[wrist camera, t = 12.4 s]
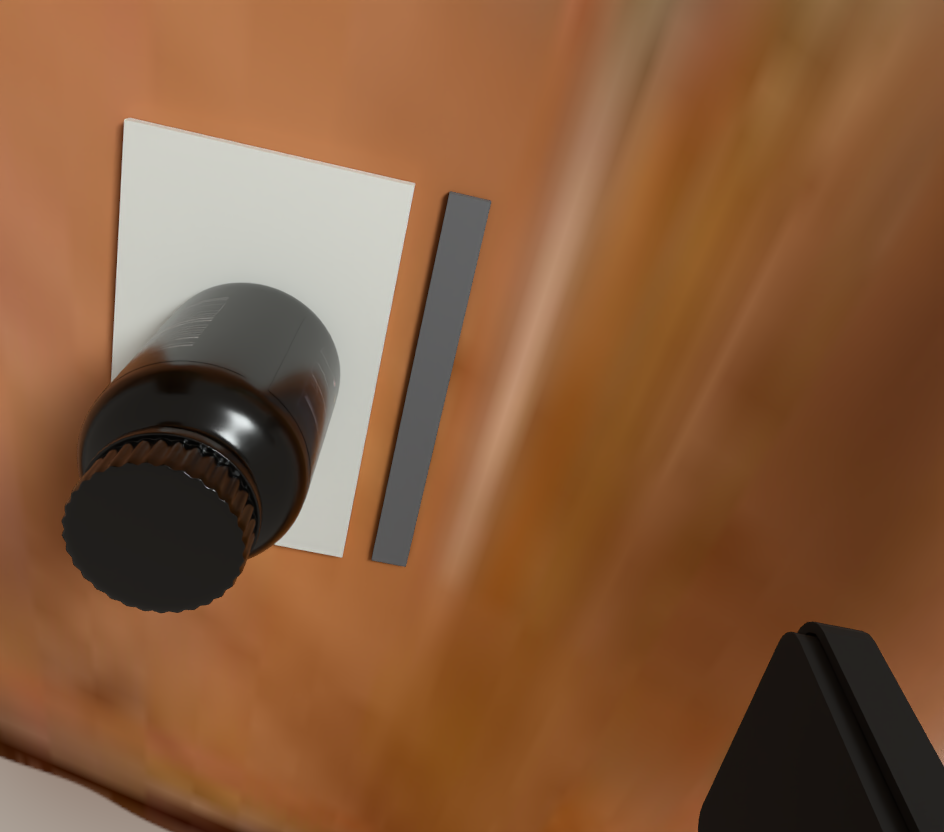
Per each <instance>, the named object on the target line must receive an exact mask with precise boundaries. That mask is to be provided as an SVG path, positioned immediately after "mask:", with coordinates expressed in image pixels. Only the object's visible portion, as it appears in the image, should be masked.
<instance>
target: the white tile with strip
mask: <svg viewBox="0 0 944 832" xmlns="http://www.w3.org/2000/svg"><path fill="white" fill-rule="evenodd" d="M414 187H415V183H412V182H407V181H403V180H399V179H394V178H390V177H386V176H381V175H377V174H373V173H368V172H364V171H359V170H355V169H351V168H346V167H342V166H338V165H333V164H329V163H325V162H320V161H316V160H312V159H307V158H303V157H299V156H294V155H290V154H286V153H281V152H277V151H273V150H268V149H264V148H260V147H255V146H251V145H246V144H242V143H238V142H233V141H229V140H225V139H220V138H216V137H212V136H207V135H203V134H199V133H194V132H190V131H186V130H181V129H177V128H173V127H168V126H164V125H160V124H155V123H151V122H146V121H142V120H138V119H133V118H127V119H124V134H123V154H122V174H121V194H120V214H119V234H118V254H117V274H116V294H115V313H114V333H113V353H112V373H111V382H112V381H113V380H114V379H115V378H116V377H117V375H118V374H119V373H120V372H121V371H122V370H123V369H124V368H125V366H126V365H127V364H128V363H129V362H130V361H131V360H132V359H133V357H134V356H135V355H136V354H137V353H138V352H139V351H140V350H141V349H142V347H143V346H144V345H145V344H146V343H147V342H148V341H149V340H150V338H151V337H152V336H153V335H154V334H155V333H156V332H157V331H158V330H159V328H160V327H161V326H162V325H163V324H164V323H165V322H166V321H167V319H168V318H169V317H170V316H171V315H172V314H173V313H174V312H175V311H176V310H177V309H178V308H179V307H180V306H181V305H182V304H184V303H185V302H186V301H187V300H188V299H190V298H191V297H193V296H194V295H196V294H198V293H200V292H202V291H204V290H206V289H208V288H211V287H214V286H218V285H222V284H228V283H255V284H261V285H266V286H269V287H273V288H276V289H278V290H281V291H283V292H285V293H287V294H289V295H291V296H293V297H294V298H296V299H298V300H299V301H301V302H302V303H303V304H305V305H306V306H307V307H308V308H309V309H310V310H312V311H313V312H314V313H315V314H316V316H317V317H318V318H319V319H320V320H321V321H322V323H323V324H324V326H325V327H326V329H327V330H328V332H329V333H330V335H331V338H332V340H333V342H334V344H335V347H336V350H337V353H338V357H339V363H340V386H339V391H338V396H337V399H336V403H335V407H334V410H333V413H332V417H331V420H330V423H329V426H328V429H327V433H326V436H325V439H324V442H323V445H322V449H321V452H320V455H319V458H318V462H317V465H316V468H315V471H314V474H313V478H312V481H311V484H310V487H309V490H308V494H307V497H306V499H305V502H304V504H303V507H302V509H301V511H300V513H299V515H298V517H297V519H296V521H295V522H294V524H293V525H292V526H291V528H290V529H289V530H288V531H287V533H286V534H285V535H284V536H283V537H282V538H281V539H280V540H279V541H277V542H276V543H275V544H274V545H278V546H284V547H289V548H294V549H299V550H305V551H310V552H315V553H321V554H326V555H331V556H336V557H342V556H343V552H344V547H345V542H346V536H347V531H348V526H349V521H350V516H351V511H352V506H353V500H354V495H355V490H356V485H357V480H358V475H359V470H360V465H361V459H362V454H363V449H364V444H365V439H366V434H367V429H368V423H369V418H370V413H371V408H372V403H373V398H374V393H375V388H376V382H377V377H378V372H379V367H380V362H381V357H382V352H383V346H384V341H385V336H386V331H387V326H388V321H389V316H390V311H391V305H392V300H393V295H394V290H395V285H396V280H397V275H398V269H399V264H400V259H401V254H402V249H403V244H404V239H405V234H406V228H407V223H408V218H409V213H410V208H411V203H412V198H413V192H414ZM490 205H491V201H490V200H486V199H481V198H477V197H473V196H468V195H464V194H459V193H455V192H451V191H450V193H449V197H448V202H447V207H446V212H445V216H444V221H443V226H442V230H441V235H440V240H439V245H438V249H437V254H436V259H435V263H434V268H433V273H432V277H431V282H430V287H429V292H428V296H427V301H426V306H425V310H424V315H423V320H422V324H421V329H420V334H419V339H418V343H417V348H416V353H415V357H414V362H413V367H412V372H411V376H410V381H409V386H408V390H407V395H406V400H405V404H404V409H403V414H402V419H401V423H400V428H399V433H398V437H397V442H396V447H395V452H394V456H393V461H392V466H391V470H390V475H389V480H388V484H387V489H386V494H385V499H384V503H383V508H382V513H381V517H380V522H379V527H378V531H377V536H376V541H375V546H374V550H373V555H372V560H373V561H378V562H383V563H388V564H394V565H399V566H404V567H406V564H407V559H408V555H409V551H410V546H411V542H412V538H413V534H414V529H415V525H416V521H417V517H418V512H419V508H420V504H421V499H422V495H423V491H424V487H425V482H426V478H427V474H428V470H429V465H430V461H431V457H432V453H433V448H434V444H435V440H436V435H437V431H438V427H439V423H440V418H441V414H442V410H443V406H444V401H445V397H446V393H447V388H448V384H449V380H450V376H451V371H452V367H453V363H454V359H455V354H456V350H457V346H458V341H459V337H460V333H461V329H462V324H463V320H464V316H465V312H466V307H467V303H468V299H469V295H470V290H471V286H472V282H473V277H474V273H475V269H476V265H477V260H478V256H479V252H480V248H481V243H482V239H483V235H484V230H485V226H486V222H487V218H488V213H489V209H490Z"/></svg>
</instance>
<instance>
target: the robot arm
mask: <svg viewBox="0 0 944 832" xmlns="http://www.w3.org/2000/svg"><path fill="white" fill-rule="evenodd" d="M698 832H944V766H943V764H942V762H941V761H940V759H939V757H938V755H937V753H936V752H935V750H934V748H933V746H932V744H931V742H930V741H929V739H928V737H927V735H926V733H925V732H924V730H923V728H922V726H921V724H920V723H919V721H918V719H917V717H916V715H915V714H914V712H913V710H912V708H911V706H910V704H909V703H908V701H907V699H906V697H905V695H904V694H903V692H902V690H901V688H900V686H899V685H898V683H897V681H896V679H895V677H894V676H893V674H892V672H891V670H890V668H889V666H888V665H887V663H886V661H885V659H884V657H883V656H882V654H881V652H880V650H879V648H878V647H877V645H876V643H875V641H874V640H873V639H872V637H871V636H870V635H869V634H867V633H865V632H863V631H859V630H854V629H849V628H844V627H838V626H833V625H828V624H823V623H818V622H807V623H806V624H804V625H803V626H802V627H801V628H800V629H799V631H798V633H795V632H787V633H786V634H785V635H783V636H782V638H781V640H780V641H779V643H778V645H777V647H776V649H775V652H774V654H773V656H772V658H771V660H770V662H769V664H768V667H767V669H766V671H765V673H764V675H763V677H762V679H761V682H760V684H759V686H758V688H757V690H756V692H755V694H754V696H753V699H752V701H751V703H750V705H749V707H748V709H747V711H746V714H745V716H744V718H743V720H742V722H741V724H740V726H739V729H738V731H737V733H736V735H735V737H734V739H733V741H732V743H731V746H730V748H729V750H728V752H727V754H726V756H725V758H724V761H723V763H722V765H721V767H720V769H719V771H718V773H717V775H716V778H715V780H714V782H713V784H712V786H711V788H710V790H709V793H708V795H707V797H706V799H705V801H704V803H703V806H702V808H701V811H700V816H699V824H698Z"/></svg>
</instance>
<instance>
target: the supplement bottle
mask: <svg viewBox="0 0 944 832" xmlns="http://www.w3.org/2000/svg"><path fill="white" fill-rule="evenodd" d="M339 386H340V363H339V357H338V353H337V350H336V347H335V344H334V342H333V340H332V338H331V335H330V333H329V332H328V330H327V329H326V327H325V326H324V324H323V323H322V321H321V320H320V319H319V318H318V317H317V316H316V314H315V313H314V312H313V311H312V310H310V309H309V308H308V307H307V306H306V305H305V304H303V303H302V302H301V301H299V300H298V299H296V298H294V297H293V296H291V295H289V294H287V293H285V292H283V291H281V290H278V289H276V288H273V287H269V286H266V285H261V284H255V283H228V284H222V285H218V286H214V287H211V288H208V289H206V290H204V291H202V292H200V293H198V294H196V295H194V296H193V297H191V298H190V299H188V300H187V301H186V302H185V303H184V304H182V305H181V306H180V307H179V308H178V309H177V310H176V311H175V312H174V313H173V314H172V315H171V316H170V317H169V318H168V319H167V321H166V322H165V323H164V324H163V325H162V326H161V327H160V328H159V330H158V331H157V332H156V333H155V334H154V335H153V336H152V337H151V338H150V340H149V341H148V342H147V343H146V344H145V345H144V346H143V347H142V349H141V350H140V351H139V352H138V353H137V354H136V355H135V356H134V357H133V359H132V360H131V361H130V362H129V363H128V364H127V365H126V366H125V368H124V369H123V370H122V371H121V372H120V373H119V374H118V375H117V377H116V378H115V379H114V380H113V381H112V382H111V383H110V384H109V385H108V387H107V388H106V389H105V390H104V391H103V392H102V393H101V395H100V396H99V397H98V399H97V400H96V401H95V403H94V404H93V406H92V407H91V409H90V410H89V412H88V414H87V416H86V418H85V420H84V422H83V425H82V428H81V431H80V435H79V439H78V446H77V464H78V472H79V477H80V481H79V482H78V483H77V484H76V486H75V487H74V488H73V490H72V493H71V497H70V498H69V499H68V501H67V502H66V504H65V515H64V516H63V518H62V524H63V527H64V531H63V534H62V536H63V538H64V540H65V542H66V551H67V552H68V553H69V555H70V556H71V557H72V560H73V565H74V566H76V567H77V568H78V569H79V570H80V571H81V573H82V575H83V577H84V578H85V579H87V580H88V581H90V582H92V584H93V585H94V587H95V588H96V589H97V590H100V591H102V592H104V593H106V594H107V595H108V596H109V597H110V598H111V599H114V600H118V601H121V602H122V603H123V604H124V605H126V606H129V607H137V608H138V609H140V610H143V611H152V610H153V611H155V612H159V613H165V612H168V611H170V612H176V613H179V612H182V611H183V610H195V609H196V608H198V607H199V606H201V605H208V604H210V603H211V602H212V601H213V599H216V598H219V597H222V596H223V595H224V593H225V591H226V590H227V589H229V588H231V587H232V586H233V585H234V584H235V582H236V579H237V577H238V576H239V575H240V574H241V573H242V571H243V569H244V566H245V564H246V561H247V560H248V559H250V558H252V557H254V556H256V555H258V554H260V553H262V552H264V551H265V550H267V549H268V548H270V547H271V546H273V545H274V544H275V543H276V542H277V541H279V540H280V539H281V538H282V537H283V536H284V535H285V534H286V533H287V531H288V530H289V529H290V528H291V526H292V525H293V524H294V522H295V521H296V519H297V517H298V515H299V513H300V511H301V509H302V507H303V504H304V502H305V499H306V497H307V494H308V490H309V487H310V484H311V481H312V478H313V474H314V471H315V468H316V465H317V462H318V458H319V455H320V452H321V449H322V445H323V442H324V439H325V436H326V433H327V429H328V426H329V423H330V420H331V417H332V413H333V410H334V407H335V403H336V399H337V396H338V391H339Z"/></svg>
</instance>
